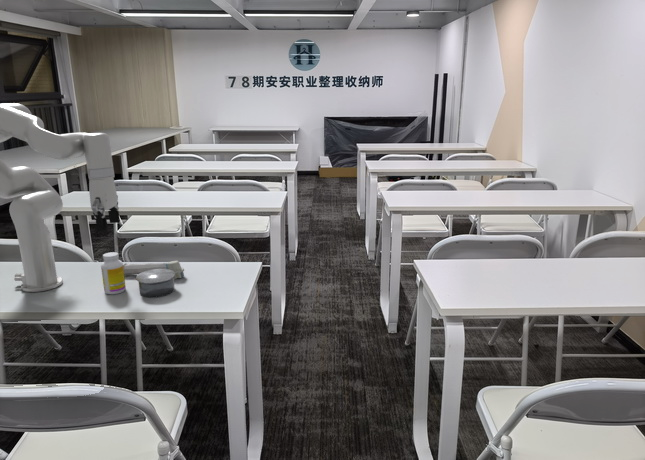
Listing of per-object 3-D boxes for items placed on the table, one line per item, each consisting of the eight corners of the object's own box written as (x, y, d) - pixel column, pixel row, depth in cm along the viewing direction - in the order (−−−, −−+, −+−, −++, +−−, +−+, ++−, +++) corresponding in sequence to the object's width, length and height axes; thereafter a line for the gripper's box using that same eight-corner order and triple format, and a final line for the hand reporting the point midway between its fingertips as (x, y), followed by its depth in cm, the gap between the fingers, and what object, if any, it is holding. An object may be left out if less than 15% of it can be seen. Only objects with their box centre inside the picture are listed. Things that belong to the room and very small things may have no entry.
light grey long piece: (119, 262, 185) (183, 256, 181) (123, 279, 187) (187, 273, 183) (111, 267, 180) (177, 260, 176) (116, 285, 182) (181, 278, 178)
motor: (132, 298, 163) (130, 281, 162) (146, 283, 176) (144, 267, 174) (169, 298, 163) (168, 281, 161) (181, 283, 176) (179, 267, 174)
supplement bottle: (130, 289, 171) (126, 252, 167) (114, 296, 165) (110, 258, 161) (115, 286, 173) (111, 250, 170) (99, 293, 167) (94, 255, 164)
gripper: (100, 169, 167) (108, 220, 172) (76, 178, 151) (85, 234, 155) (123, 168, 167) (130, 219, 172) (101, 177, 151) (109, 233, 155)
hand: (109, 226), depth 163 cm, fingers open, 9 cm apart
